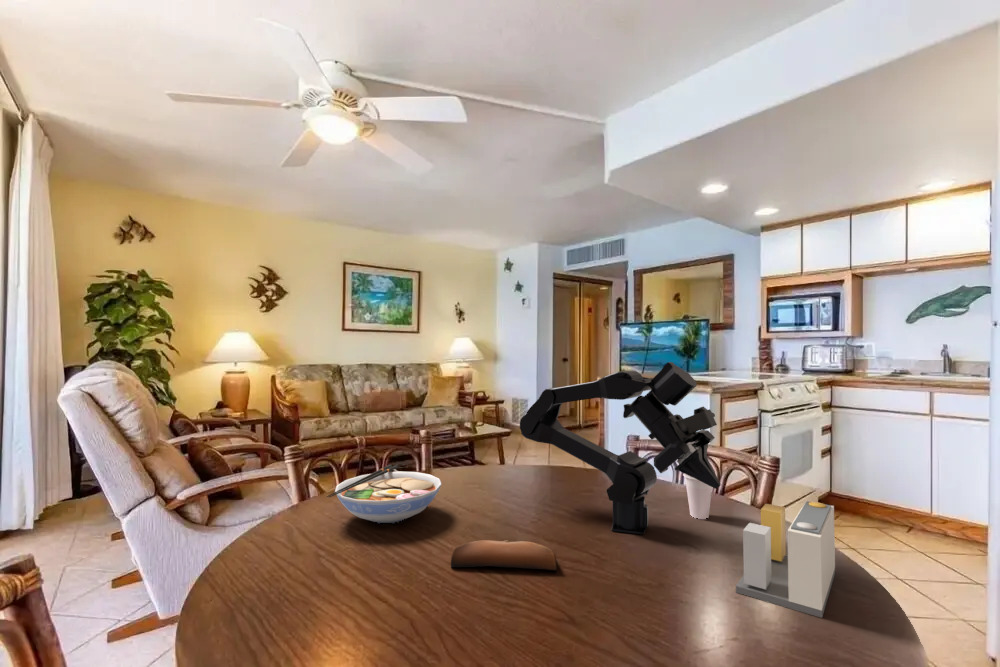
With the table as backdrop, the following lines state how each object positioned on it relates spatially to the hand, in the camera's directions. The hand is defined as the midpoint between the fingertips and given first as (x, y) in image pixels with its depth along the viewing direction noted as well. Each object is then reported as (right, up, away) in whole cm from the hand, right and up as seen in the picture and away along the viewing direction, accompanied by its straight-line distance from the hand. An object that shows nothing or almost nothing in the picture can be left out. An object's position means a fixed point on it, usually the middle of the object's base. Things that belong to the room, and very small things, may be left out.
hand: (718, 487), depth 90 cm
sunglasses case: (-39, -12, -4) cm, 41 cm away
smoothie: (+4, -12, +18) cm, 22 cm away
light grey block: (-1, -10, -15) cm, 18 cm away
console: (+6, -11, -13) cm, 18 cm away
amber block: (+7, -10, -6) cm, 13 cm away
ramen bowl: (-64, -12, +17) cm, 68 cm away
